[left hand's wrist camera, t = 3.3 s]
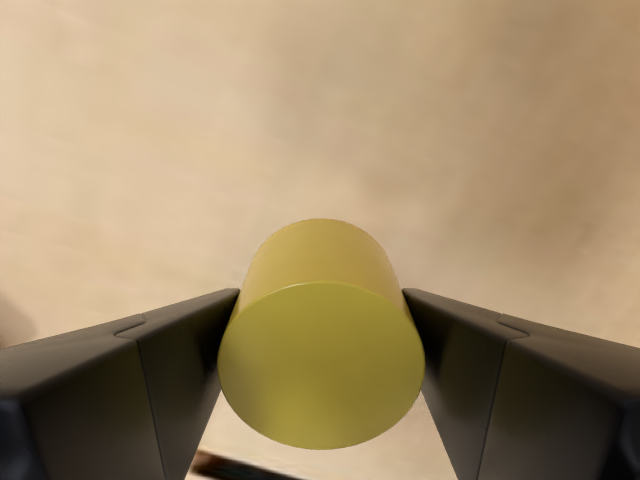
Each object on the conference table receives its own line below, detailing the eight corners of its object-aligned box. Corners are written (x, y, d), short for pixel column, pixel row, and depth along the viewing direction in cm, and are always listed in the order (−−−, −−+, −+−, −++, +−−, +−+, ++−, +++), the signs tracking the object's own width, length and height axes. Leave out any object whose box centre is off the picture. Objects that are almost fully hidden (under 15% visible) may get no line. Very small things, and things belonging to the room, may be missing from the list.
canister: (222, 308, 13) (181, 400, 9) (294, 189, 11) (281, 240, 8) (342, 368, 14) (351, 476, 10) (423, 265, 12) (469, 345, 8)
